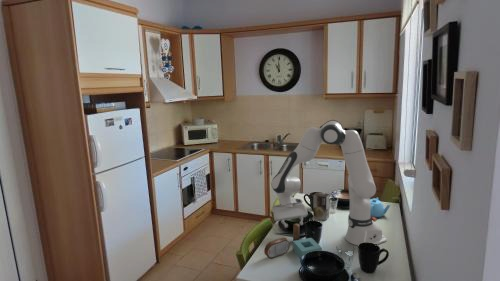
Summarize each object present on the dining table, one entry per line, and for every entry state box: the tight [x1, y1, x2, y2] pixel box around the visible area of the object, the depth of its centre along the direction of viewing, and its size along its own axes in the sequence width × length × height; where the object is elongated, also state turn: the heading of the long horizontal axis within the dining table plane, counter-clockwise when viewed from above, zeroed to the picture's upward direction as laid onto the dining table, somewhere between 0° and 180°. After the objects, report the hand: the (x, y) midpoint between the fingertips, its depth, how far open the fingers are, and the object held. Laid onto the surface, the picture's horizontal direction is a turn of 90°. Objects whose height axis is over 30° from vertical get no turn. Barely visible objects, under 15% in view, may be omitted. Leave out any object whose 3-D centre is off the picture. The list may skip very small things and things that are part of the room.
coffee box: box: [312, 191, 331, 221], centre depth 207 cm, size 9×6×16 cm
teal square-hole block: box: [292, 237, 323, 259], centre depth 166 cm, size 11×11×5 cm
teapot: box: [370, 197, 391, 219], centre depth 211 cm, size 15×15×11 cm
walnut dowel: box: [292, 223, 301, 242], centre depth 177 cm, size 4×4×10 cm
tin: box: [263, 237, 291, 259], centre depth 164 cm, size 15×3×8 cm, turn 121°
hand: (294, 226), depth 179 cm, fingers open, 8 cm apart
